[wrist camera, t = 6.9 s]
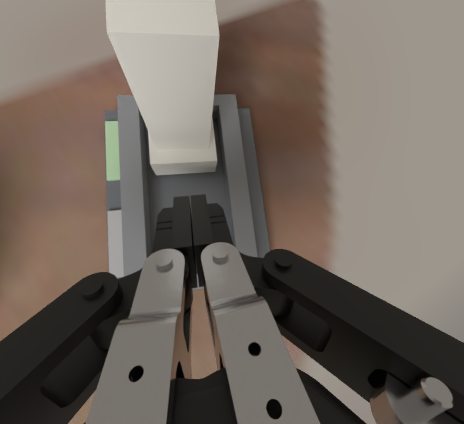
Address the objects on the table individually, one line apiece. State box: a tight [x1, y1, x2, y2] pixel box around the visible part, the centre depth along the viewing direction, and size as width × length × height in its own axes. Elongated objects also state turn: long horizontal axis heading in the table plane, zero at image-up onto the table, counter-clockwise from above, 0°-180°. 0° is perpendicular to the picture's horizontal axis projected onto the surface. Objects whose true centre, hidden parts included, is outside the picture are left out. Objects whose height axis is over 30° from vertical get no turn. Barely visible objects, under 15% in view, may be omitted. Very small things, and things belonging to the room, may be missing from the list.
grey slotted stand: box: [104, 94, 270, 290], centre depth 15 cm, size 10×12×3 cm
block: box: [106, 0, 219, 175], centre depth 11 cm, size 4×4×9 cm
